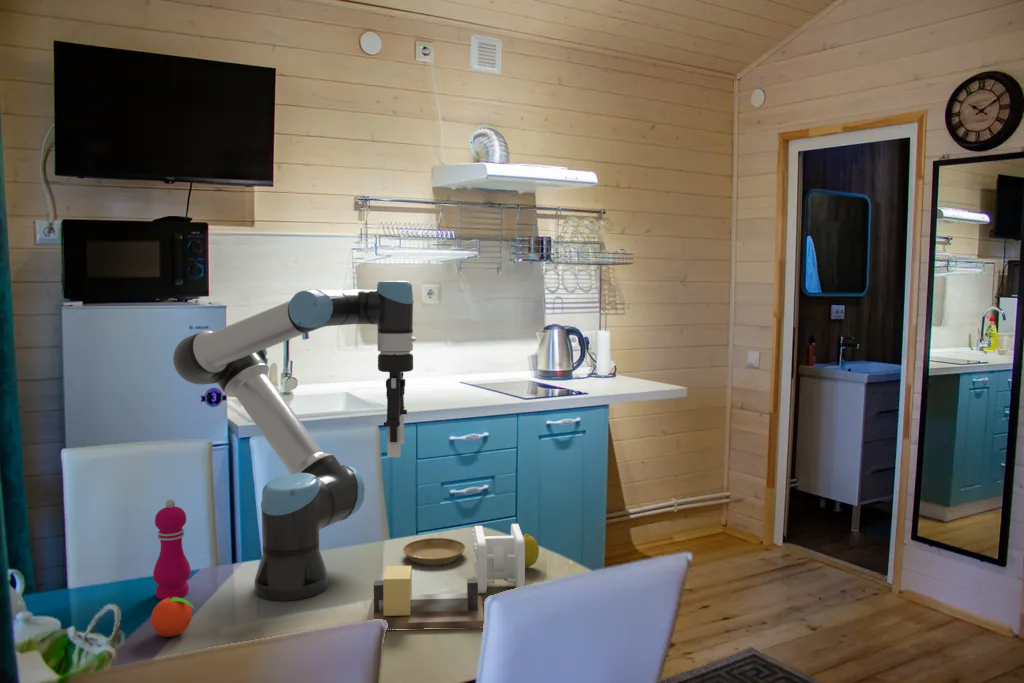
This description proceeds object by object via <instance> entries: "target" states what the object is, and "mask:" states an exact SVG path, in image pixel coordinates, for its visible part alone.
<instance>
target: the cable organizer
mask: <svg viewBox="0 0 1024 683" xmlns="http://www.w3.org/2000/svg"><path fill="white" fill-rule="evenodd" d="M523 536H524V535H523V533H522V531H521V528H520V525H519V524H518V523H511V526H510V535H491V536H490V535H489V536H487V535H485V531H484V526H483V525H474V527H473V528H471V539H472V553H473V554H472V557H473V563H472V564H473V565H472V566H473V575H474V578H478V594H486V593H487V588H488V584H492V585H493V586H492V587H494V586H495V580H506V582H507V585H509V583H512V584H513V583H514V585H515V589H516V588H517V587H520V586H524V585H526V584H525V583H526V580H525V578H526V577H525V576H526V575H525V574H526V571H525V570H526V568H525V543H524V538H523ZM524 587H525V586H524Z"/></svg>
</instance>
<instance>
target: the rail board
mask: <svg viewBox="0 0 1024 683" xmlns="http://www.w3.org/2000/svg"><path fill="white" fill-rule="evenodd" d="M466 579H467V581H466V582H467V584H466V586H467V587H466V588H467V589H466V591H467V592H466V593H464V592H463V593H430V594H429V593H428V594H424V593H423V594H422V593H421V594H412V595H411V598H410V600H411V611H410V615H396V616H384V611H383V580H374V583H373V598H371V602H370V606H369V610H368V614H367V619H366V621H367V620H373V619H383V620H386V621H387V623H388V628H387V630H388V629H389V630H390V629H391V630H392V629H394V630H395V629H424V628H478V629H483V628H482V627H483V620H484V621H485V616H484V608H483V597H482V595H479V593H478V578H475V577H474V578H473V577H472V578H466ZM480 627H481V628H480Z"/></svg>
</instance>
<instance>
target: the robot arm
mask: <svg viewBox="0 0 1024 683" xmlns="http://www.w3.org/2000/svg"><path fill="white" fill-rule="evenodd" d="M376 285H377V286H376V289H351V288H348V289H347V288H344V289H317V288H316V289H314V288H310V289H307V290H300V291H297V293H295V294H294V295H293V296H292V298H291V299H290V300H288V301H286V302H284V303H283V302H282V303H281V304H279V305H276V306H274V307H272V308H269V309H266V310H264V311H261V312H259V313H256V314H254V315H252V316H251V315H250V316H249V317H246V318H244V319H242V320H239V321H237V322H235V323H232V324H229V325H227V326H225V327H223V328H222V327H221V328H220V329H217V330H215V331H212V330H202V331H200V332H197V333H195V334H192V335H189V336H187V337H185V338H183V339H182V340H181V341H180V342H179V343H178V344H177V346H176V347H175V349H174V352H173V358H172V361H173V365H174V368H175V371H176V372H177V374H178V375H179V376H180V377H181V378H182V379H183V380H185V381H186V382H188V383H190V384H193V385H210V384H218V385H219V387H220V389H221V390H222V391H223V392H224V394H225V395H226V396H227V397H232V398H233V397H234V398H235V399H237V401H238V402H239V403H240V405H241V406H242V407H243V409H244V410H245V412H246V413H247V415H248V416H249V418H250V419H251V420H252V421H253V422H254V424H255V426H256V427H257V428H258V430H259V432H260V433H261V434H262V435H263V437H264V439H265V440H266V441H267V442H268V444H269V445H270V446H271V448H272V450H273V451H274V452H275V453H276V455H277V456H278V458H279V460H281V462H282V464H283V465H284V467H286V469H287V470H288V473H290V474H282V475H280V476H277V477H274V478H273V479H271V480H268V482H266V484H265V485H264V486H263V488H262V492H261V501H260V508H261V533H262V534H261V537H262V541H261V542H262V554H261V555H262V556H261V558H260V561H259V562H260V563H259V565H258V568H257V570H256V574H255V577H254V593H255V595H256V596H258V597H259V598H261V599H265V600H270V601H277V602H278V601H279V602H280V601H281V602H283V601H286V602H287V601H294V600H295V601H296V600H302V599H306V598H310V597H313V596H315V595H318V594H320V593H322V592H324V591H325V590H326V589H327V588H328V587H329V586H328V585H329V574H328V571H327V570H328V569H327V568H326V565H325V562H324V559H323V556H322V554H321V550H320V530H322V529H324V528H326V527H329V526H331V525H333V524H335V523H337V522H340V521H344V520H347V519H348V518H350V517H351V516H352V515H354V514H356V513H357V512H358V511H359V510H360V508H361V507H362V505H363V503H364V501H365V490H366V488H365V482H364V478H363V477H362V475H361V474H360V472H359V471H358V470H357V469H356V468H354V467H353V466H351V465H350V466H349V465H346V464H340V462H339V461H338V459H337V458H336V457H335V455H334V454H333V453H327V452H323V450H322V449H321V447H320V446H319V445H318V444H317V442H316V440H315V439H314V438H313V437H312V435H311V434H310V432H309V431H308V430H307V428H306V427H305V425H304V424H303V423H302V421H301V420H300V419H299V417H298V416H297V415H296V413H295V412H294V411H293V409H292V408H291V406H290V405H289V403H287V401H286V400H285V398H284V396H283V395H282V394H281V393H280V391H279V390H278V389H277V388H276V386H275V385H274V383H273V382H272V380H271V379H270V377H269V376H268V375H269V373H270V367H269V366H268V362H269V358H268V357H267V355H268V351H267V349H268V348H271V347H273V346H276V345H279V344H281V343H284V342H286V341H290V340H292V339H294V338H297V337H299V336H301V335H305V334H307V333H311V332H314V331H315V330H318V329H321V328H325V327H332V326H346V325H349V326H350V325H376V326H377V334H376V335H377V351H378V352H380V353H379V354H378V355H377V369H378V371H379V372H381V373H389V377H388V378H386V380H385V388H386V392H385V393H386V399H387V400H386V404H387V405H386V420H385V422H383V427H384V428H385V427H386V445H387V446H386V447H387V448H386V454H387V456H386V457H387V458H401V457H402V455H401V446H402V445H405V415H408V409H405V399H404V398H405V397H404V395H405V390H406V389H405V387H406V379H405V378H404V373H407V372H408V373H409V372H411V371H413V370H414V355H413V353H411V352H412V351H413V350H414V349H413V348H414V346H413V345H414V343H413V342H416V340H417V338H416V337H415V336H413V335H414V334H413V333H414V330H413V326H414V325H413V322H414V320H413V319H414V318H413V316H414V315H413V314H414V304H415V302H414V297H413V296H414V294H413V286H412V285H413V284H412V283H411V282H410V281H408V280H380V281H378V282H377V284H376Z"/></svg>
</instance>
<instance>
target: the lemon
mask: <svg viewBox="0 0 1024 683" xmlns="http://www.w3.org/2000/svg"><path fill="white" fill-rule="evenodd" d="M522 536H523V538H524V543H525V570H526V569H527V570H528V569H529V568H530V567H531V566H533V565H535V564H536V562H537V561H538V559H539V554H540V553H539V552H540V547H539V544H538V542H537V540H536V538H535V537H533V536H532V535H530V534H528V533H525V534H524V535H522Z"/></svg>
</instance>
